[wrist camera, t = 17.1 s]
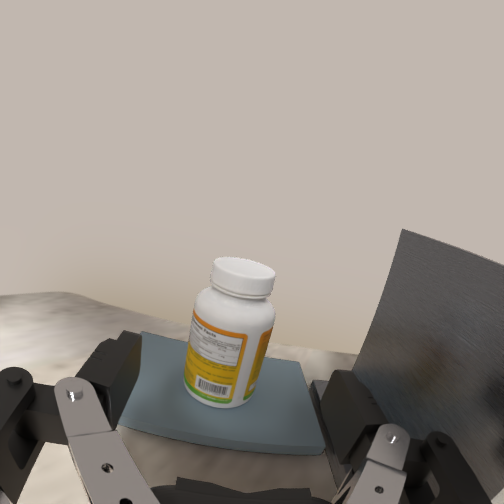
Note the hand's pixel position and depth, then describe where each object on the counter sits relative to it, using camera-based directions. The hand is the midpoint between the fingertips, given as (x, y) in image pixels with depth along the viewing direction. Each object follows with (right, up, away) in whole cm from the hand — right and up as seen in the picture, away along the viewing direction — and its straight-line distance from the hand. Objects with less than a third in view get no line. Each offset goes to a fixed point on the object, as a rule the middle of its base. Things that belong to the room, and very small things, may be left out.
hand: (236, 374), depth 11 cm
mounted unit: (+11, -11, +3) cm, 15 cm away
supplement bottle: (-2, -5, +10) cm, 11 cm away
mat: (-2, -6, +10) cm, 12 cm away
